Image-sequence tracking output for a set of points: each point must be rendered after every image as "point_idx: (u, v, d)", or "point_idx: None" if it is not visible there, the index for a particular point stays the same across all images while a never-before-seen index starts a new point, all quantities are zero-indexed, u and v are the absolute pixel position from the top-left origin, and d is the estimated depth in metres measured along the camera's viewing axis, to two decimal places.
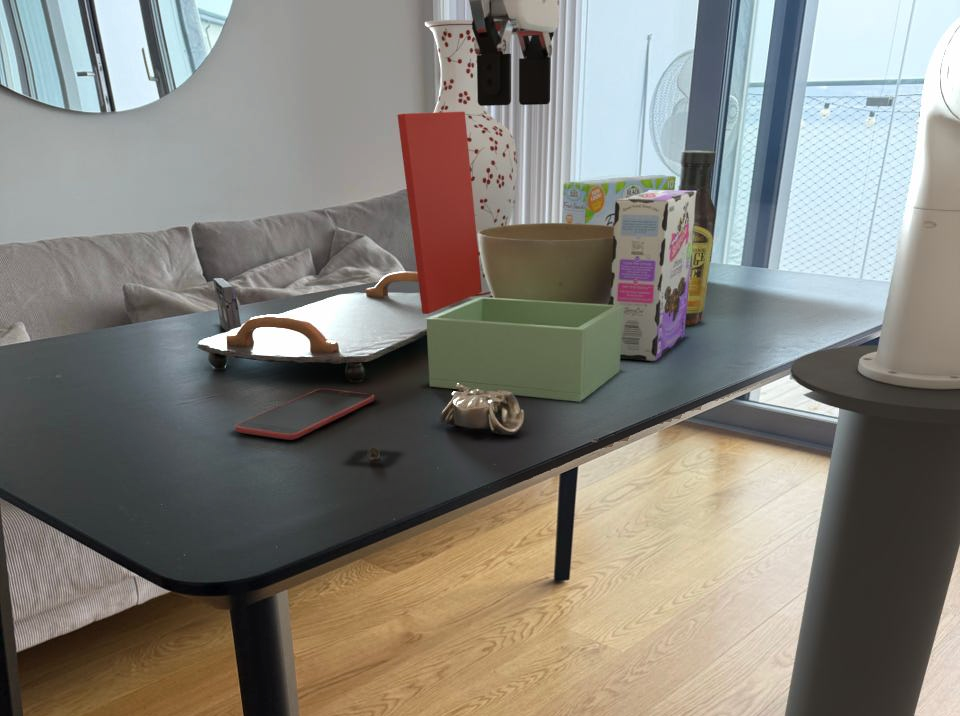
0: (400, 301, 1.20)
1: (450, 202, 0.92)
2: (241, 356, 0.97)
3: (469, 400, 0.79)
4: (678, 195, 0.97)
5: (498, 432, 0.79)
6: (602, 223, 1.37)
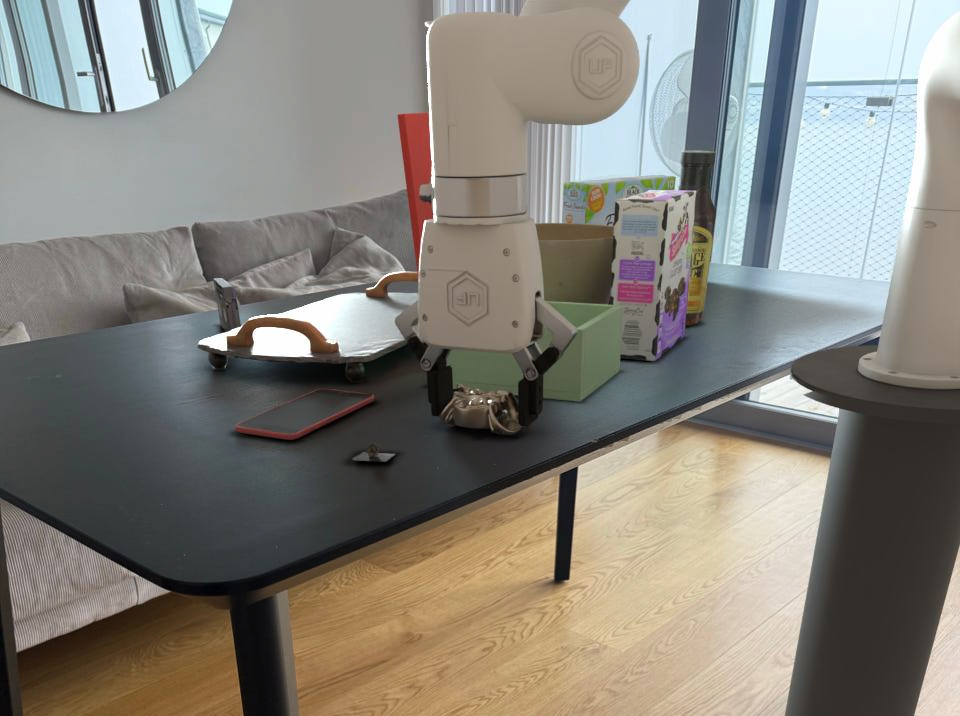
0: (400, 301, 1.20)
1: None
2: (241, 356, 0.97)
3: (469, 400, 0.79)
4: (678, 195, 0.97)
5: (498, 432, 0.79)
6: (602, 223, 1.37)
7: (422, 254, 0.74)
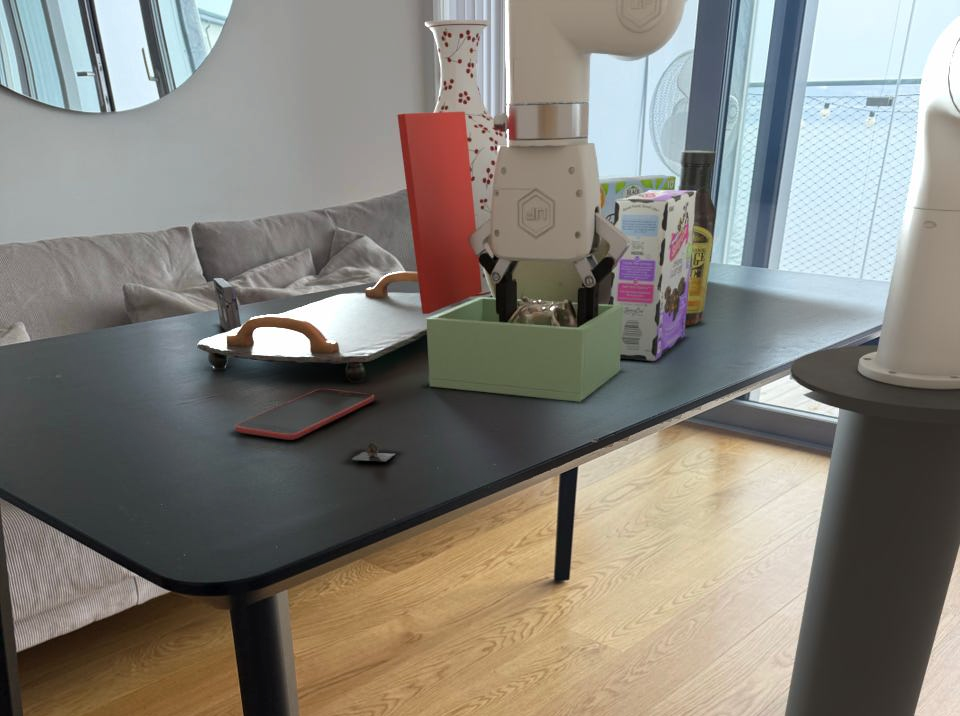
0: (400, 301, 1.20)
1: (450, 202, 0.92)
2: (241, 356, 0.97)
3: (534, 307, 0.90)
4: (678, 195, 0.98)
5: None
6: None
7: (496, 175, 0.85)
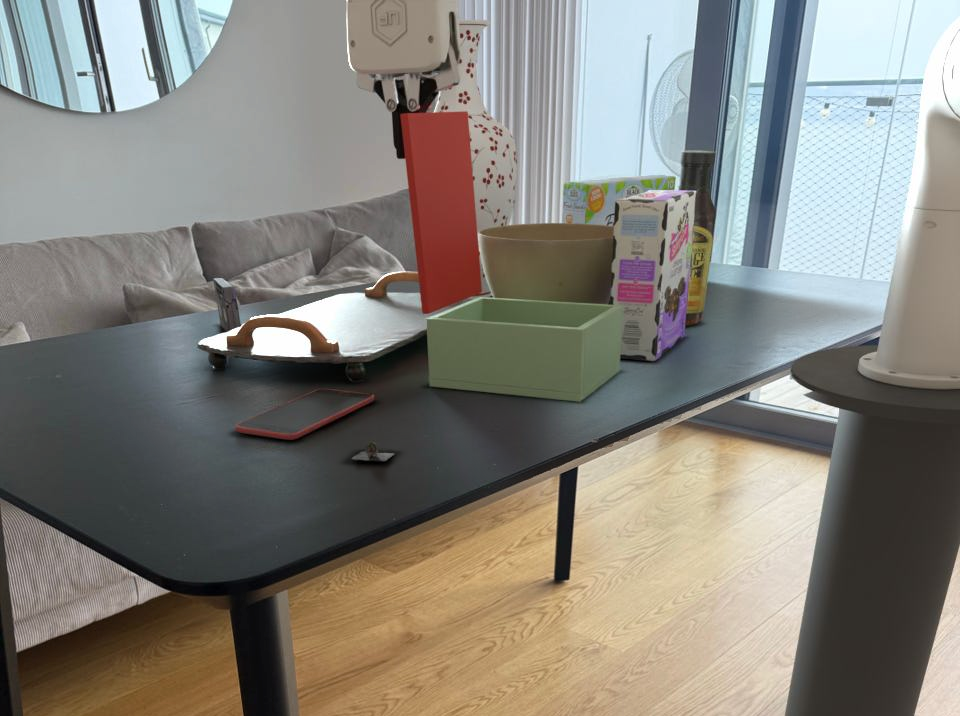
0: (399, 301, 1.20)
1: (451, 202, 0.91)
2: (241, 356, 0.97)
3: None
4: (678, 195, 0.98)
5: None
6: (602, 223, 1.37)
7: None
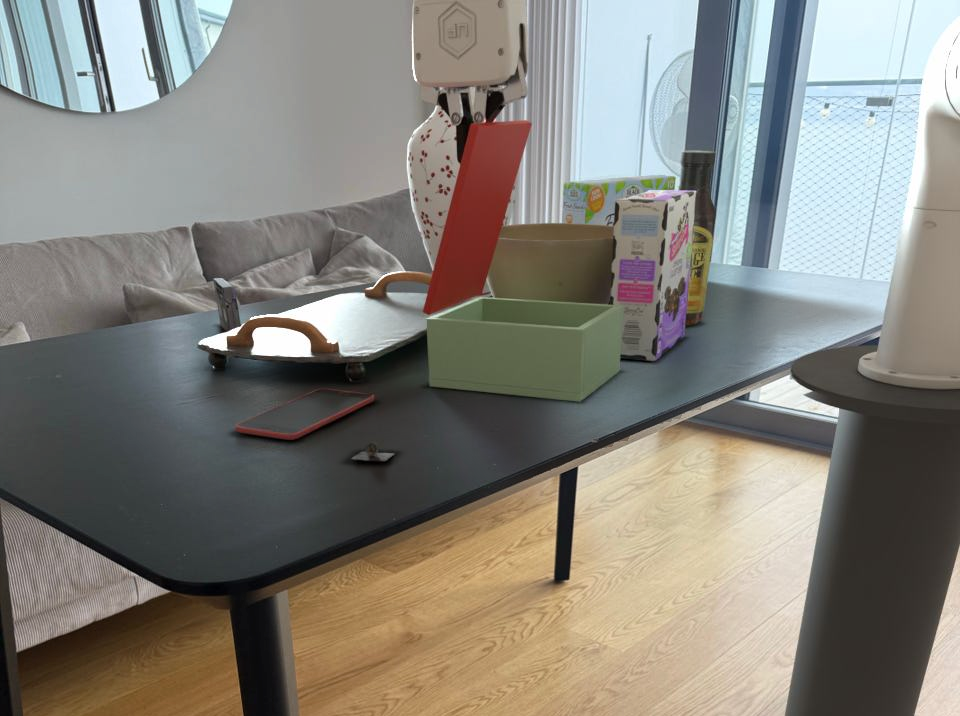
0: (399, 301, 1.20)
1: (486, 210, 0.90)
2: (241, 356, 0.97)
3: None
4: (678, 195, 0.98)
5: None
6: (602, 223, 1.37)
7: None
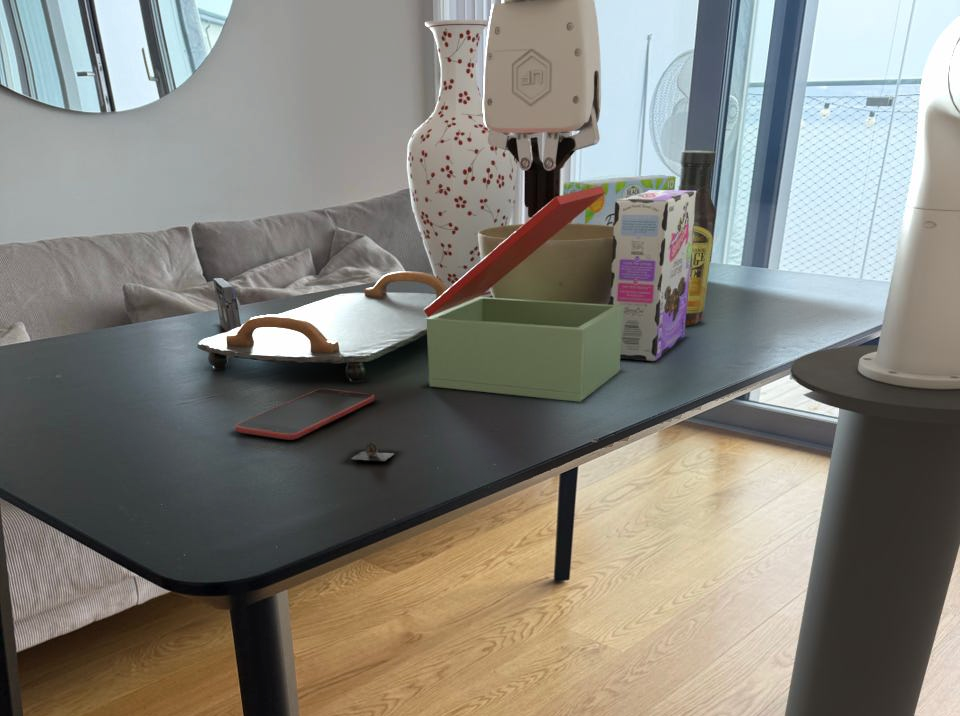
0: (399, 301, 1.20)
1: (525, 249, 0.91)
2: (241, 356, 0.97)
3: None
4: (678, 195, 0.98)
5: None
6: (602, 223, 1.37)
7: (489, 37, 0.80)
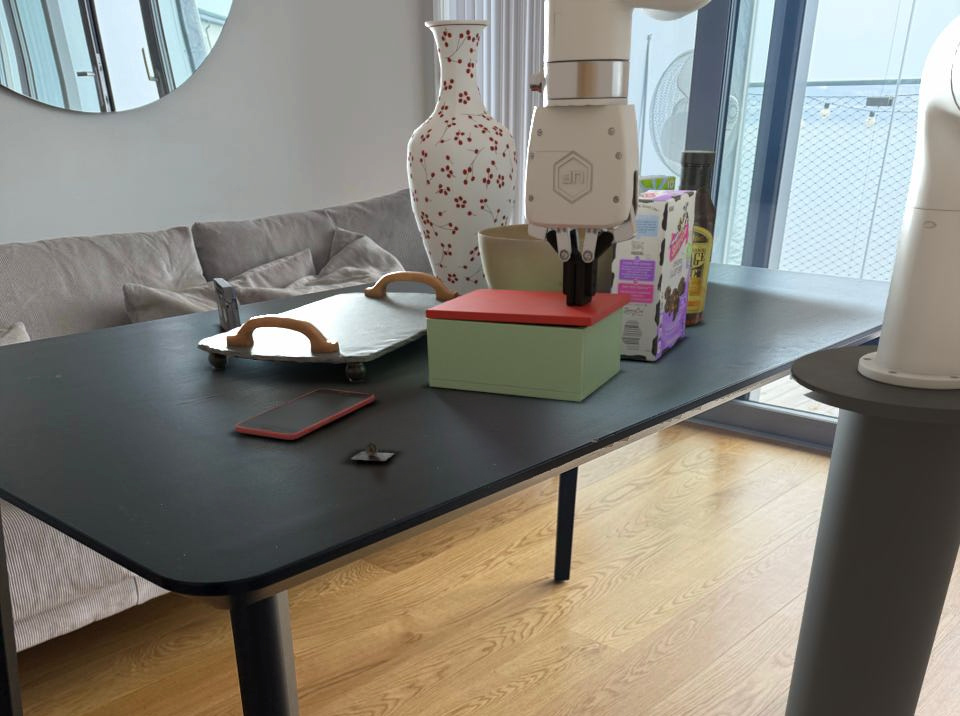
0: (399, 301, 1.20)
1: None
2: (241, 356, 0.97)
3: None
4: (678, 195, 0.97)
5: None
6: None
7: (531, 137, 0.82)
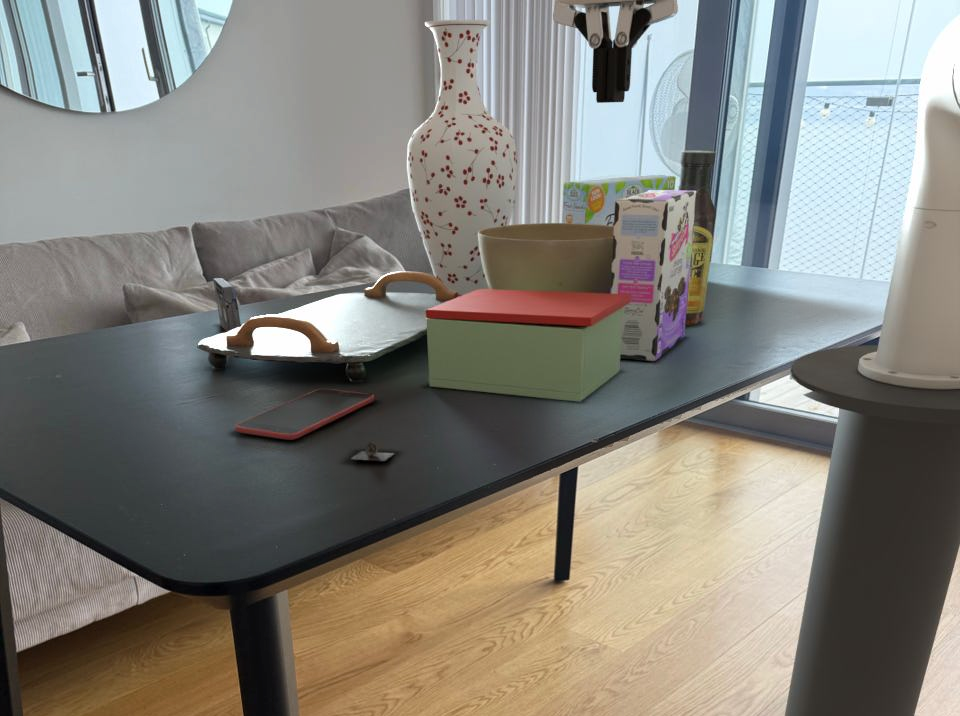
0: (399, 301, 1.20)
1: None
2: (241, 356, 0.97)
3: None
4: (678, 195, 0.98)
5: None
6: (602, 223, 1.37)
7: None
